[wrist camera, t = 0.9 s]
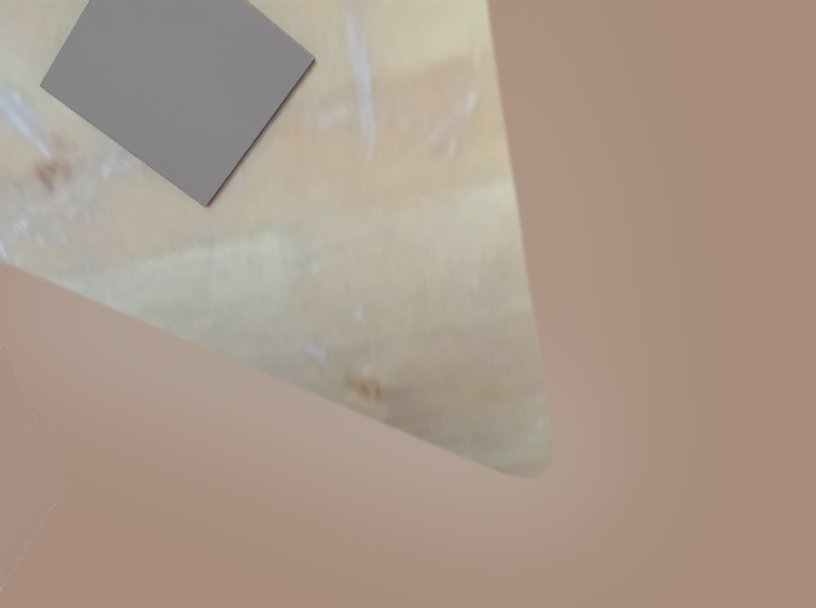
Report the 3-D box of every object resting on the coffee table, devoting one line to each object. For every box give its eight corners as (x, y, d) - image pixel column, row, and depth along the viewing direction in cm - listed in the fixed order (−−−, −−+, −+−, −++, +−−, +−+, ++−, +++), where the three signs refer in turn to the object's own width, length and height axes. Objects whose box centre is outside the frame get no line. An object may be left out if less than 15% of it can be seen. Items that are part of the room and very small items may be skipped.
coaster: (45, 84, 33) (39, 85, 32) (145, -85, 30) (140, -86, 29) (208, 203, 35) (205, 206, 34) (315, 57, 32) (313, 59, 32)
